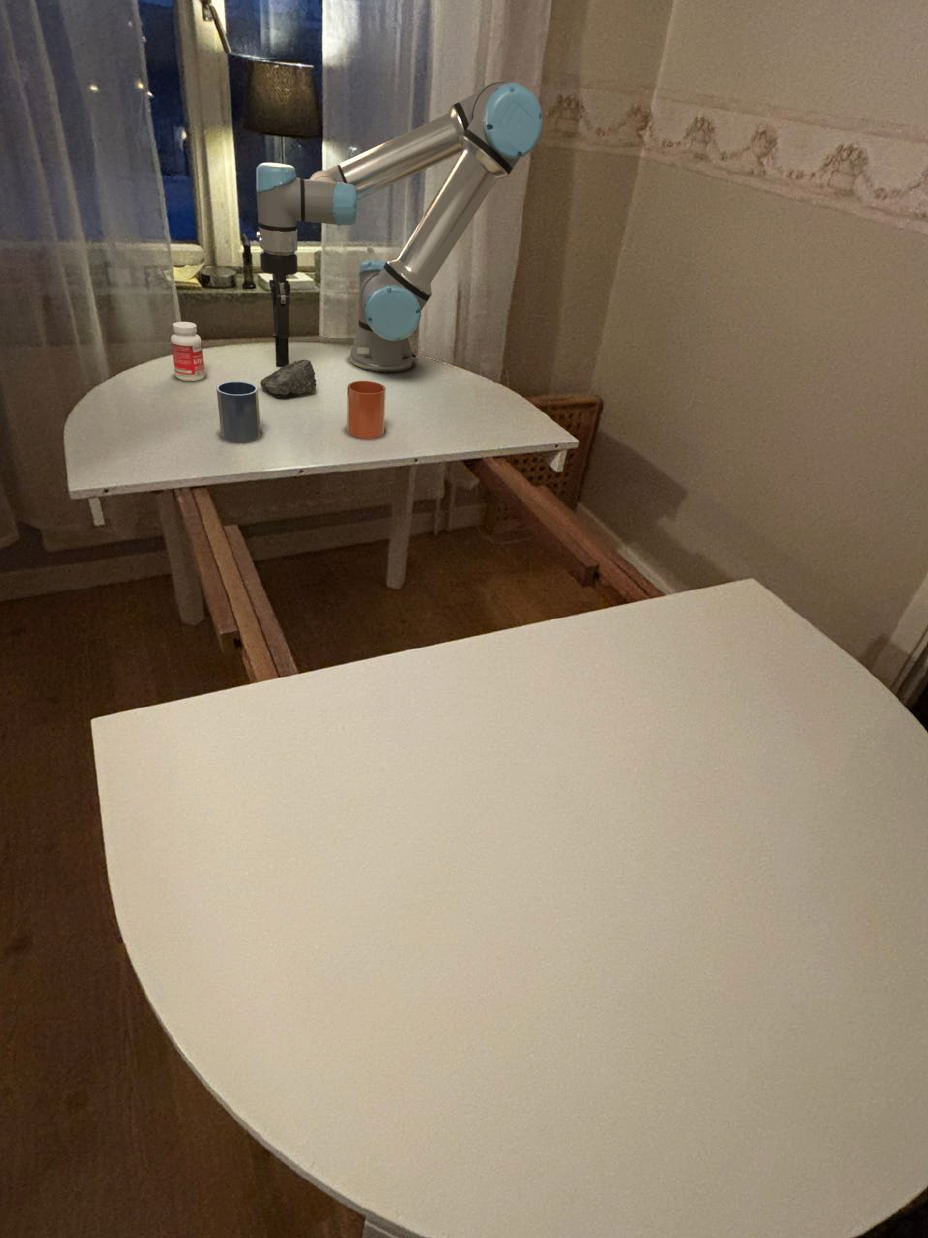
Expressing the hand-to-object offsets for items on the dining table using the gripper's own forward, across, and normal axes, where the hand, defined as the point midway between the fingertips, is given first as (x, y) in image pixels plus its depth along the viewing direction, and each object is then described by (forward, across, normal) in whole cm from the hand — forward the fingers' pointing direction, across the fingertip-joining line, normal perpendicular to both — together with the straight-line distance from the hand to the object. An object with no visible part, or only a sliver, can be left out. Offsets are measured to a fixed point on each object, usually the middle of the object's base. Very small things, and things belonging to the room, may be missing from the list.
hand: (282, 365), depth 166 cm
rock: (+3, +10, 0) cm, 10 cm away
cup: (+3, +32, -11) cm, 34 cm away
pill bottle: (+3, 0, -20) cm, 20 cm away
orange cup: (+2, +32, +13) cm, 34 cm away
